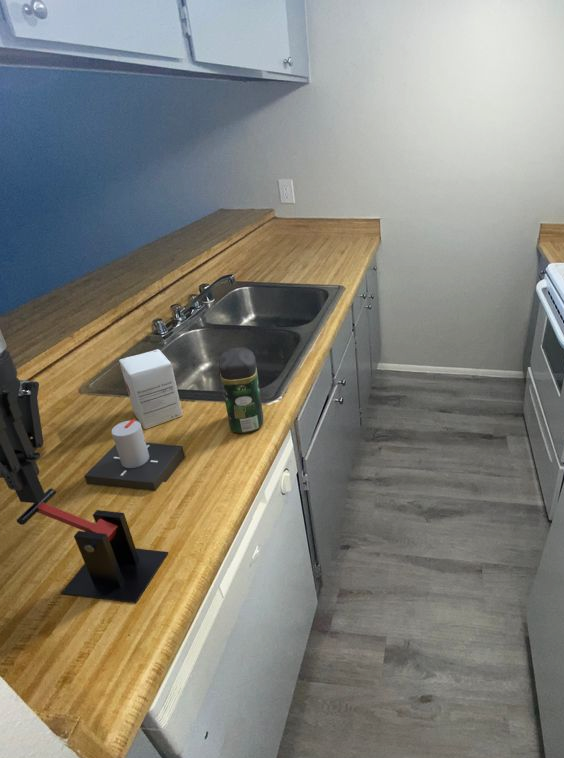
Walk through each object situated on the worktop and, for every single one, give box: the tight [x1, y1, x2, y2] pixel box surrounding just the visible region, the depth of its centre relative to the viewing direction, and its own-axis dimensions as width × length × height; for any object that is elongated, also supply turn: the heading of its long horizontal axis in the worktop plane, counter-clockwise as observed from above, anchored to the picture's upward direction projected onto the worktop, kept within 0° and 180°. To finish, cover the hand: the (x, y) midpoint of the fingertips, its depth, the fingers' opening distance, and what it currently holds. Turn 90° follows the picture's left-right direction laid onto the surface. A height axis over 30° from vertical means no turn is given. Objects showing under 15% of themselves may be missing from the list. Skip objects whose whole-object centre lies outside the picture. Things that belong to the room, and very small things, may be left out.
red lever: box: [16, 488, 117, 541], centre depth 70 cm, size 12×6×2 cm, turn 85°
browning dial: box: [111, 418, 149, 468], centre depth 93 cm, size 5×5×8 cm
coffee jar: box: [218, 347, 264, 434], centre depth 108 cm, size 10×8×19 cm
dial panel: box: [84, 442, 186, 492], centre depth 96 cm, size 14×11×3 cm
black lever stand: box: [60, 509, 169, 604], centre depth 73 cm, size 12×9×12 cm
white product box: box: [118, 348, 183, 430], centre depth 110 cm, size 9×9×15 cm
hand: (33, 498), depth 69 cm, fingers closed
